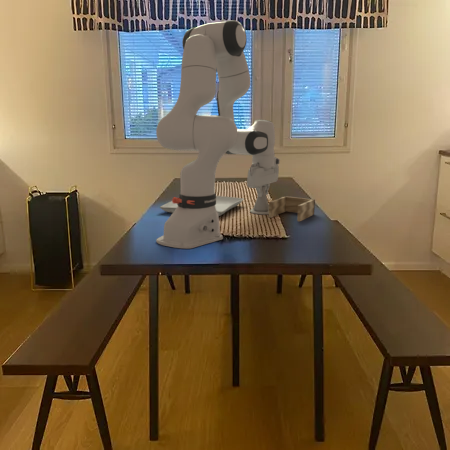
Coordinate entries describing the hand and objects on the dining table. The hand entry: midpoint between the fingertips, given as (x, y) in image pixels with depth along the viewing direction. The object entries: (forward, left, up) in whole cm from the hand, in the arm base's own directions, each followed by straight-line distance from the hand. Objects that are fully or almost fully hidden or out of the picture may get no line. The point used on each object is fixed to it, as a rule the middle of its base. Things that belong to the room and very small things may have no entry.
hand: (262, 195), depth 187 cm
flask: (0, 0, -6) cm, 6 cm away
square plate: (-9, +23, -7) cm, 26 cm away
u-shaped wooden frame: (0, -13, -7) cm, 15 cm away
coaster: (0, 0, -7) cm, 7 cm away
